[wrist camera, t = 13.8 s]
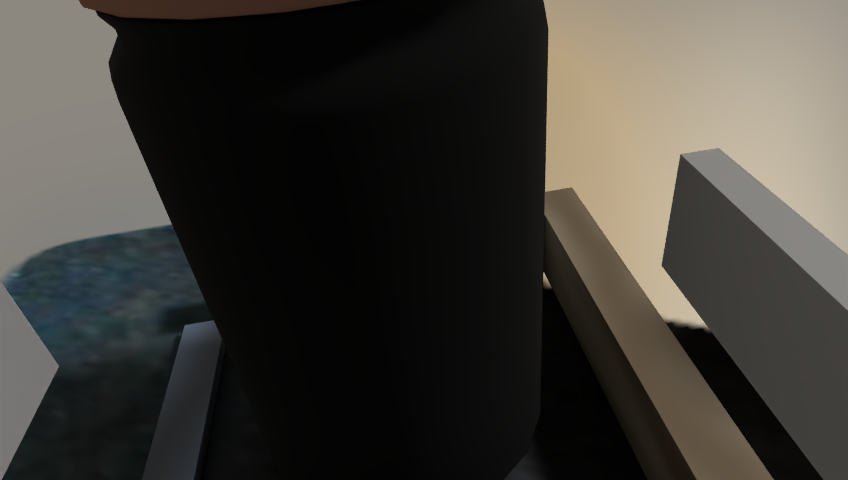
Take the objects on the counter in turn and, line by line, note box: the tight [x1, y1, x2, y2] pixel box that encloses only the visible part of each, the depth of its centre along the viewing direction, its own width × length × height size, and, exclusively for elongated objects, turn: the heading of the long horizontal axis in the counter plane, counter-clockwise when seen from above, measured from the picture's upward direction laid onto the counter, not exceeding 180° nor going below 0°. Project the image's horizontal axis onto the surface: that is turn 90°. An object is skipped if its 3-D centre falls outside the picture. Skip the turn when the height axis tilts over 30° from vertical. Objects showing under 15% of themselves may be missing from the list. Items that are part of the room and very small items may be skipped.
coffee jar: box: [79, 0, 548, 480], centre depth 18 cm, size 11×11×18 cm
